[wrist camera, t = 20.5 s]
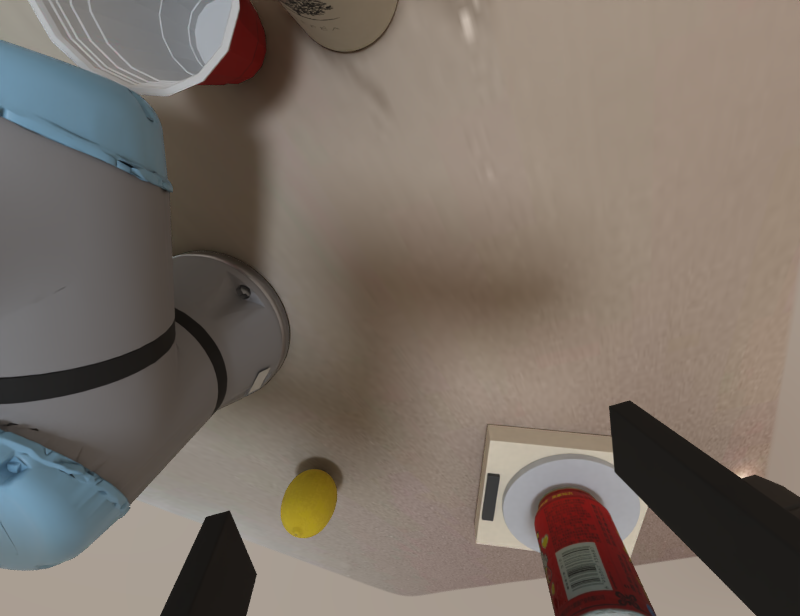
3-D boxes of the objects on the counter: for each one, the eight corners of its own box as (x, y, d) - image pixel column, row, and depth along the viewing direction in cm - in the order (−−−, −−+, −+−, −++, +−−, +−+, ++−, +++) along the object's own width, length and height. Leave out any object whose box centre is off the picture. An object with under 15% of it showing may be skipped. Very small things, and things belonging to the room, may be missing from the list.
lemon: (289, 461, 45) (257, 521, 38) (330, 448, 44) (305, 507, 36) (313, 496, 46) (287, 560, 39) (353, 484, 45) (334, 548, 38)
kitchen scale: (474, 523, 45) (476, 550, 42) (487, 424, 40) (490, 446, 37) (619, 541, 43) (632, 570, 40) (651, 439, 38) (669, 464, 35)
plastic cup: (316, 105, 31) (259, 76, 20) (191, 128, 33) (71, 112, 21) (282, -63, 28) (188, -213, 17) (142, -31, 29) (-35, -151, 18)
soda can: (515, 502, 39) (543, 644, 28) (577, 469, 37) (636, 608, 25) (557, 544, 40) (601, 696, 29) (619, 514, 38) (693, 666, 27)
